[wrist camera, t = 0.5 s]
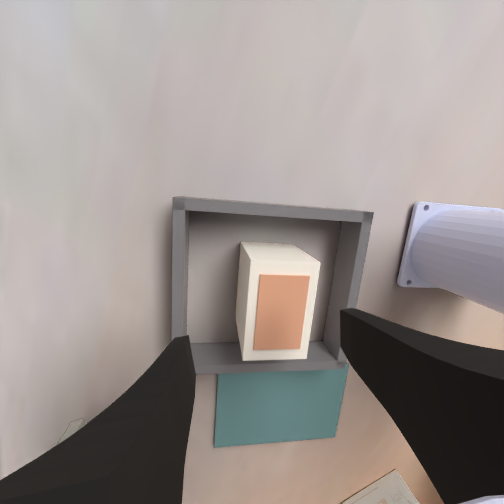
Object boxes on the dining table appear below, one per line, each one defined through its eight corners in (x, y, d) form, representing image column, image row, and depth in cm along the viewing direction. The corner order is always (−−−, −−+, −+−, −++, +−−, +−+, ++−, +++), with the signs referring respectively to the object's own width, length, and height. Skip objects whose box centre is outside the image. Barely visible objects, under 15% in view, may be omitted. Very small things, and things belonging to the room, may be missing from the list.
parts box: (291, 243, 21) (321, 263, 15) (283, 317, 23) (307, 360, 17) (240, 241, 21) (251, 260, 15) (235, 317, 22) (243, 362, 16)
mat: (346, 362, 25) (348, 365, 25) (333, 433, 27) (334, 437, 27) (218, 366, 23) (218, 369, 23) (214, 443, 25) (214, 447, 25)
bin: (352, 210, 21) (373, 212, 18) (329, 348, 24) (344, 369, 21) (178, 196, 19) (172, 196, 16) (176, 351, 22) (171, 375, 19)
